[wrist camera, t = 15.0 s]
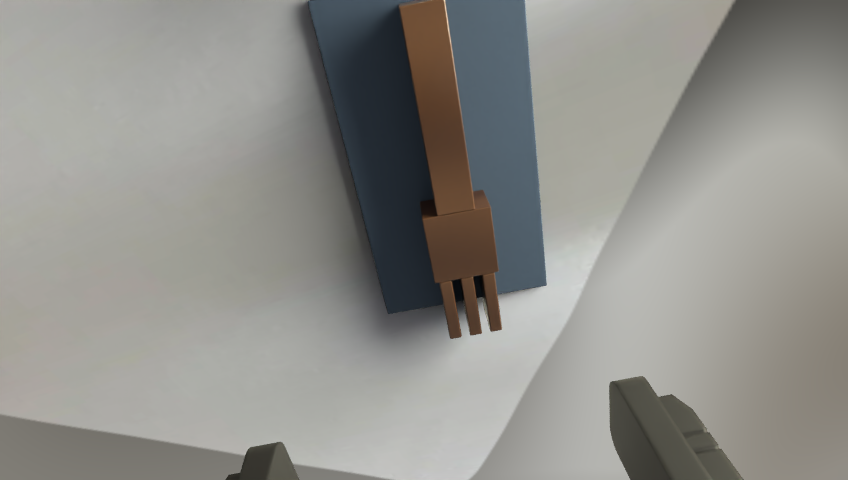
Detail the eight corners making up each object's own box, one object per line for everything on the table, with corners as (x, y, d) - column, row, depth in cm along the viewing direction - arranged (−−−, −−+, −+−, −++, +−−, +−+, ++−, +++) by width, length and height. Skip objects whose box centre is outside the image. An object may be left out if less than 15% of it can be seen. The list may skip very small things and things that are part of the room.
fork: (380, 7, 24) (379, 10, 22) (456, -8, 24) (463, -7, 22) (442, 316, 32) (446, 340, 30) (498, 305, 32) (506, 329, 30)
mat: (545, 282, 32) (546, 285, 31) (388, 310, 32) (388, 314, 32) (519, -42, 24) (521, -43, 23) (308, 0, 24) (307, 1, 23)
